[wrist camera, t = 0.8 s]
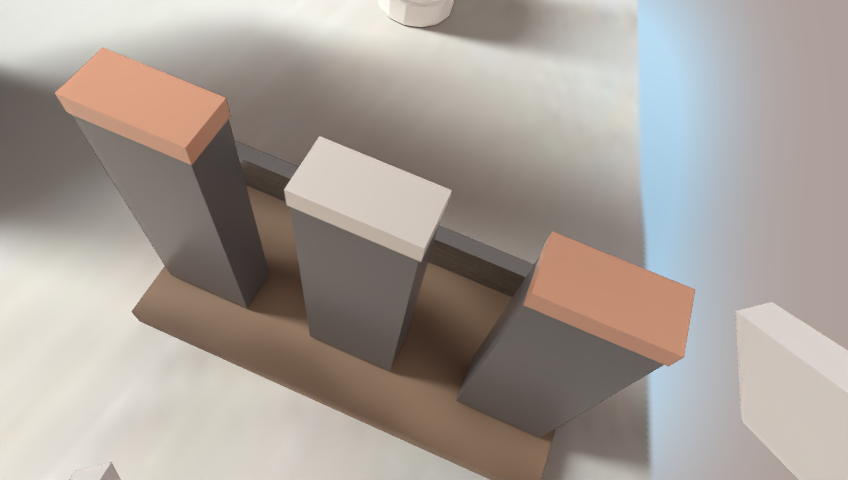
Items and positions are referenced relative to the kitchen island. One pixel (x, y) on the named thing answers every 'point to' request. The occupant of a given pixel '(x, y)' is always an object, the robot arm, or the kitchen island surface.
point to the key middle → (361, 247)
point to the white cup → (417, 11)
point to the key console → (349, 375)
